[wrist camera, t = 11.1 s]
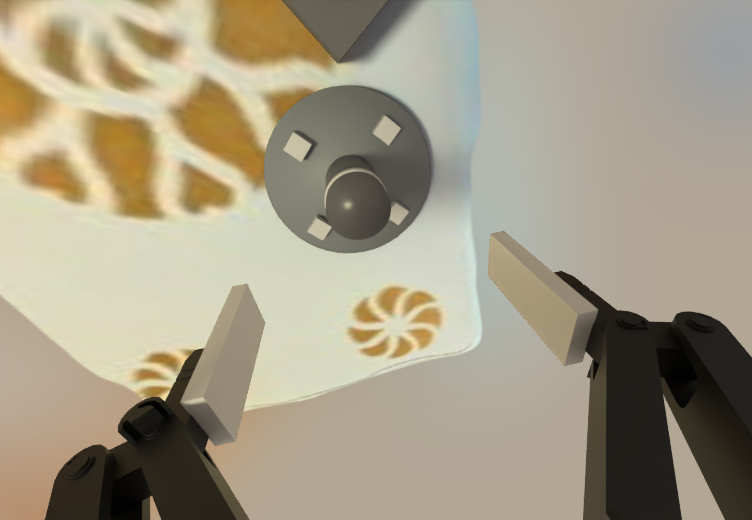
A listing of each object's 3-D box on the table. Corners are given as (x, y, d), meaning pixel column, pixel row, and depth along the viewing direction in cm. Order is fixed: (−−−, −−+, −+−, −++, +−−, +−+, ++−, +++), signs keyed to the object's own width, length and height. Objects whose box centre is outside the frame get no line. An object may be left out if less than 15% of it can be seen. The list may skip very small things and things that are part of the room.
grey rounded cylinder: (318, 159, 31) (317, 183, 24) (372, 149, 32) (387, 170, 24) (331, 210, 34) (332, 246, 27) (380, 200, 35) (395, 234, 27)
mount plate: (239, 103, 29) (233, 104, 27) (421, 71, 30) (428, 70, 28) (293, 261, 38) (292, 270, 36) (431, 233, 39) (436, 240, 37)
